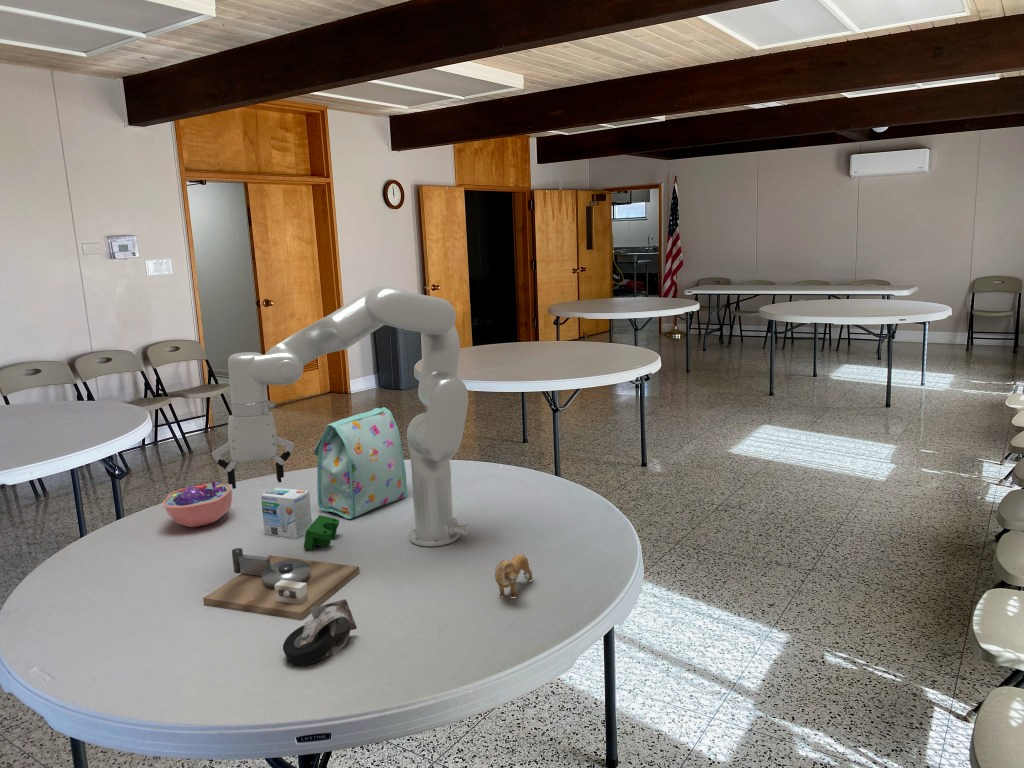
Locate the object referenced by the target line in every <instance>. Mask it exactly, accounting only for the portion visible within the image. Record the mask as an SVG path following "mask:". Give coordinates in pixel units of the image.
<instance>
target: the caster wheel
mask: <svg viewBox="0 0 1024 768" xmlns="http://www.w3.org/2000/svg"><path fill="white" fill-rule="evenodd" d="M310 611H311V613H310V614H311V615H312V618H313V619H310V620H307V622H304V625H301V626H300V627H298V628H297V629H295V630H294V631H292V632H291V633H290V634H289V635H288V636H287V637H286V639H285V640H284V642H283V645H282V650H283V653H284V654H285V658H286V660H287V662H288V663H289V664H290V665H293V666H295V667H303V666H304V667H305V666H309V665H310V664H314V663H316V662H317V661H319V660H321V659H323V658H324V657H329V656H332V655H335V654H336V653H339V651H341V650H342V648H343V647H344V646H345V644H346V643H347V641H348V639H349V637H350V632H351V631H353V630H357V629H358V627H357V623H356V621H355V619H354V616H353V614H352V611H351V608H350V605H349V602H348V601H347V599H340V600H337V601H333V602H329V603H326V604H321V605H319V606H317V607H314V608H311V609H310Z"/></svg>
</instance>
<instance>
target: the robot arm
mask: <svg viewBox="0 0 1024 768" xmlns="http://www.w3.org/2000/svg"><path fill="white" fill-rule="evenodd" d="M456 319H457V313H456V310H455V307H454V306H453V305H452V304H451V302H449V301H448V300H446V299H445V298H441V297H436V296H432V295H425V294H421V293H415V292H411V291H407V290H403V289H400V288H399V289H398V288H396V287H391V286H381V285H379V286H374V287H373V288H370V289H369V290H367V291H365V292H364V293H362V294H361V295H359V296H357V297H355V298H354V299H352V300H351V301H350V302H347V303H346V304H345V305H343V306H341V307H340V308H338V309H336V310H334V311H333V312H331V313H330V314H328V315H326V316H324V317H323V318H320V319H318V320H317V321H315V322H313V323H312V324H310V325H308V326H306V327H304V328H301V329H300V330H298V331H297V332H294V333H293V334H292V335H290V336H288V337H287V338H285V339H283V340H281V341H280V342H278V343H277V344H275V345H274V346H272V347H271V348H270V349H269V350H267V352H265V354H262V353H260V352H253V351H246V352H245V351H244V352H237V353H233V354H231V355H230V356H229V357H228V359H227V365H228V377H229V378H228V379H229V388H230V399H231V400H230V402H231V415H229V416H228V423H227V438H228V439H227V440H228V441H227V442H226V443H224V444H222V445H221V446H219V447H217V448H216V449H214V450H213V451H212V452H211V456H212V457H213V459H214V460H215V461H216V463H217V464H218V466H220V467H221V468H222V469H224V470H225V471H226V472H227V482H228V483H227V484H229V485H231V488H232V490H234V489H236V488H237V486H236V485H237V484H236V475H235V468H234V467H235V466H236V465H237V463H241V462H242V463H243V462H250V461H251V462H252V461H260V460H266V459H273V460H274V461H275V473H276V481H277V483H282V478H284V477H285V473H284V465H285V462H286V461H287V460H289V458H290V456H291V454H292V452H293V450H294V448H295V443H294V442H292V441H290V440H287V439H285V438H282V437H279V436H278V435H277V429H276V424H275V419H274V416H273V412H272V411H270V410H271V409H273V408H276V402H275V401H270V400H269V399H268V388H267V387H268V386H267V385H269V386H271V385H272V386H290V385H292V384H295V383H296V382H298V381H299V380H300V379H301V377H302V375H303V373H304V366H306V365H307V364H308V363H310V362H311V361H314V360H315V359H317V358H320V357H322V356H325V355H326V354H330V353H334V352H340V351H344V350H346V349H348V348H351V346H354V345H355V344H357V343H358V342H360V341H361V340H362V339H364V338H366V337H367V336H369V335H370V334H372V333H374V332H375V331H377V330H378V329H380V328H381V327H383V326H388V327H393V328H396V329H401V330H406V331H412V332H418V333H420V334H421V337H422V339H423V345H424V349H423V351H424V352H423V361H422V367H421V372H420V378H419V383H418V387H417V395H418V399H419V400H420V403H422V404H423V405H424V406H425V407H427V411H426V412H422V413H419V414H417V415H415V416H414V417H413V418H412V419H411V421H410V422H409V424H408V426H407V430H406V431H407V432H406V438H407V439H406V440H407V446H408V452H409V457H410V466H411V477H412V478H411V482H412V483H411V484H412V497H413V513H414V514H413V515H414V528H413V530H411V532H409V541H410V542H411V543H412V544H415V545H417V546H420V547H440V546H446V545H449V544H452V543H454V542H455V541H457V540H458V539H460V536H467V535H468V534H469V528H468V525H467V524H463V523H461V524H459V523H458V519H457V517H454V514H453V513H454V512H453V511H454V510H453V494H452V493H453V492H452V474H451V473H452V471H451V470H452V469H451V462H450V460H451V459H452V458H453V457H454V456H455V455H456V454H457V453H458V451H459V449H460V447H461V443H462V440H463V436H464V435H463V434H464V430H465V423H466V420H467V419H466V417H467V414H468V413H467V412H468V407H469V393H468V389H467V386H466V384H465V383H464V381H462V380H461V379H460V378H459V377H457V376H458V369H459V359H460V352H461V351H460V350H461V348H460V346H461V343H460V336H459V334H458V333H459V332H458V330H457V328H456V325H455V324H456ZM279 445H280V446H283V447H285V450H284V452H283V453H282V454H281V455H280V454H279ZM227 451H229V452H228V453H229V456H230V458H229V459H228V461H227V460H224V458H222V456H221V455H222V454H224V453H226V452H227Z"/></svg>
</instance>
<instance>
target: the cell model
mask: <svg viewBox="0 0 1024 768" xmlns="http://www.w3.org/2000/svg"><path fill="white" fill-rule="evenodd" d="M232 492H233V488H232V485H231V484H228V483H225V482H224V483H222V482H221V483H220V482H218V481H216V482H215V481H214V482H210V483H203V484H199V485H193V486H187V487H183V488H180V489H177V490H174V491H171V492H169V493H168V495H167V497H166V498H165V499H163V501H162V503H161V504H162V506H163V509H165V512H166V514H167V516H169V517H170V518H171V519H172V520H173V521H175V522H176V523H177V524H179V525H181V526H185V527H188V528H198V527H203V526H207V525H210V524H213V523H215V522H217V521H218V520H219V519H221V518H222V517H223V516H224V515H225V514H226V513H228V512H229V510H230V508H231V506H232V501H233V493H232Z"/></svg>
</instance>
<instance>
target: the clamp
mask: <svg viewBox="0 0 1024 768" xmlns="http://www.w3.org/2000/svg"><path fill="white" fill-rule="evenodd" d="M339 526H340V519H338V518H334V517H330V516H325V515H320V514H319V515H318V516H317V517H316V518H315V519H314V521H312V524H311V526H310V527H309V528H308V529H307V530H306V534H305V536H304V542H303V549H305V550H310V551H313V549H314V548H315V547H316V546H317V545H318V546H321V547H322V546H323V547H326V548H329V547H330V546H331V540H335V539H336V536H337V529H338V527H339Z"/></svg>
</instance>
